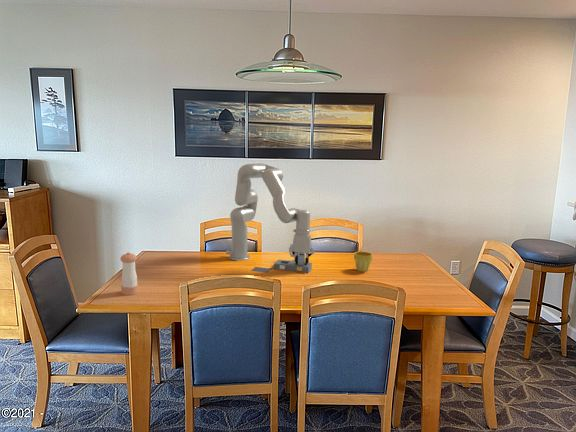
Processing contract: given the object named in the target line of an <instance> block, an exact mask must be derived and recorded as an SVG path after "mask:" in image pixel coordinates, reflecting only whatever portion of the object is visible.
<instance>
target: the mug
mask: <svg viewBox="0 0 576 432" xmlns="http://www.w3.org/2000/svg"><path fill="white" fill-rule="evenodd" d="M292 246H293V243H290V245H289V247H288V253H289V255H290V257H291V258H294V259H293V261H295V257H294V255H293V254H292V253H291V252H290V251H289V250H290V248H291V247H292ZM299 254H300V253H298V255H299ZM304 254H305V253H304ZM305 255H306V254H305Z"/></svg>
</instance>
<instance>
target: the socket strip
mask: <svg viewBox="0 0 576 432" xmlns="http://www.w3.org/2000/svg"><path fill="white" fill-rule="evenodd" d="M312 268H313V263H312V262H308V264H307V265H305V266H303V265H298V263H297V264H296V262H295V261H294V260H287V259H277V260H276V261H275V262H274V263H273V270H281V271H288V272H297V273H301V272H302V274H309V273H310V272H311V270H312Z"/></svg>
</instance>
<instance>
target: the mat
mask: <svg viewBox="0 0 576 432" xmlns="http://www.w3.org/2000/svg"><path fill="white" fill-rule="evenodd" d="M271 270H272V268H271V267H269V268H268V267H261V266H254V268H252V269H251V270H250V272H257V273H269V272H270V271H271Z"/></svg>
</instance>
